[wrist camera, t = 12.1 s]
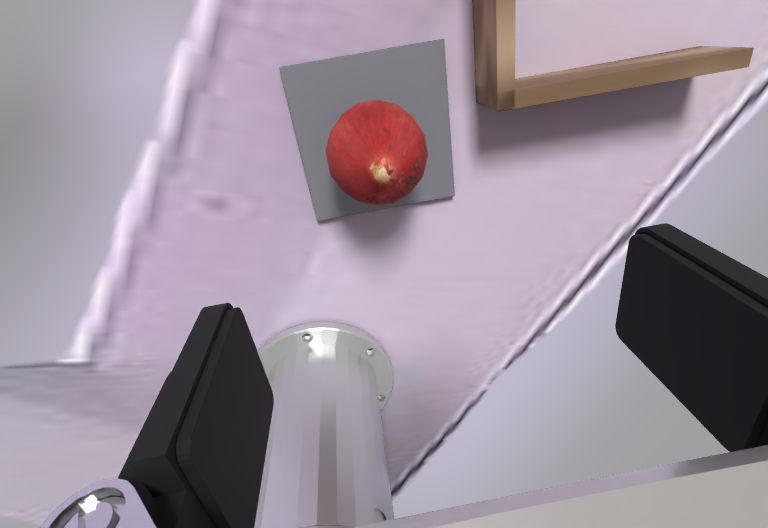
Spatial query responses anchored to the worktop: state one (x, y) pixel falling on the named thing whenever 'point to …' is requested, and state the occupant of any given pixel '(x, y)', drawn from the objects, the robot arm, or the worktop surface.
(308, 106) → the mat
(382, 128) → the onion
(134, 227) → the worktop surface
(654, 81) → the tan u-shaped frame
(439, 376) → the worktop surface
